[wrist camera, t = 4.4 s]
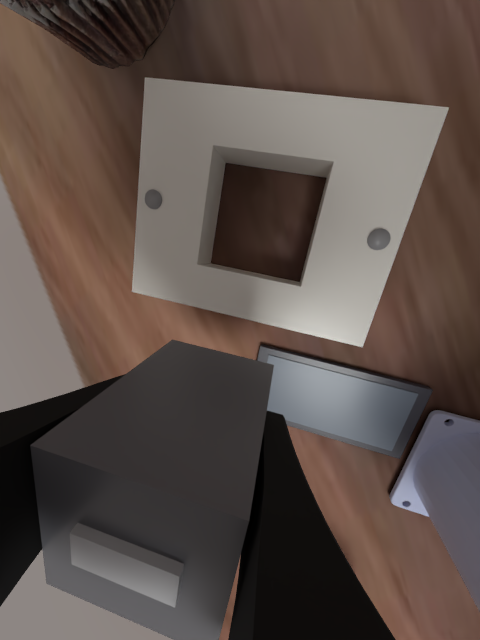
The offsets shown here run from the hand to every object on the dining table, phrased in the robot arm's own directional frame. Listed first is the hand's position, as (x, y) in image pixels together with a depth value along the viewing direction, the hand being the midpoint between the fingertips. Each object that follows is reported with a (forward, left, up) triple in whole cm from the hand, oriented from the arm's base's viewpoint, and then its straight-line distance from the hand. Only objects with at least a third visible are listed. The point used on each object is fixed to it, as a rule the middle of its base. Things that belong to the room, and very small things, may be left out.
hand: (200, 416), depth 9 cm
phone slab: (-7, +3, -10) cm, 12 cm away
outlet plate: (0, -8, -9) cm, 12 cm away
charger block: (0, 0, -2) cm, 2 cm away
